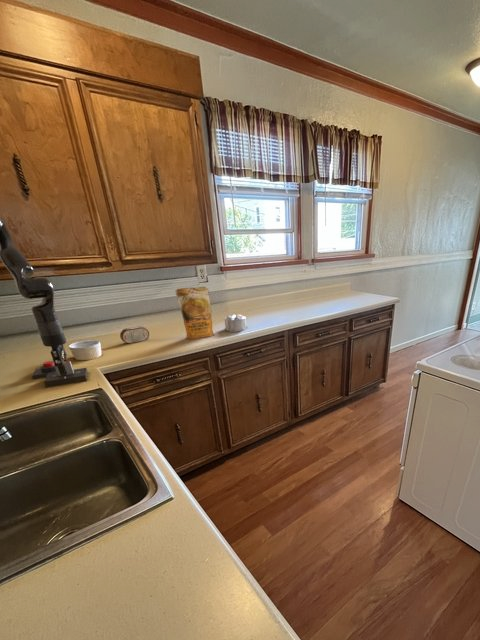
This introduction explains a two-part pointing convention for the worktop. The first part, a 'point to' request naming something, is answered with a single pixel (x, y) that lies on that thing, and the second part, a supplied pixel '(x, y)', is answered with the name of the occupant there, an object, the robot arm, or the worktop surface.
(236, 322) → the lumpy-topped squat cylinder
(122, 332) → the tin
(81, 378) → the control panel
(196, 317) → the pancake mix bag
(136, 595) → the worktop surface
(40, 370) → the power switch
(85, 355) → the ramekin
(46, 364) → the power button
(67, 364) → the grey rectangular block
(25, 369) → the worktop surface
